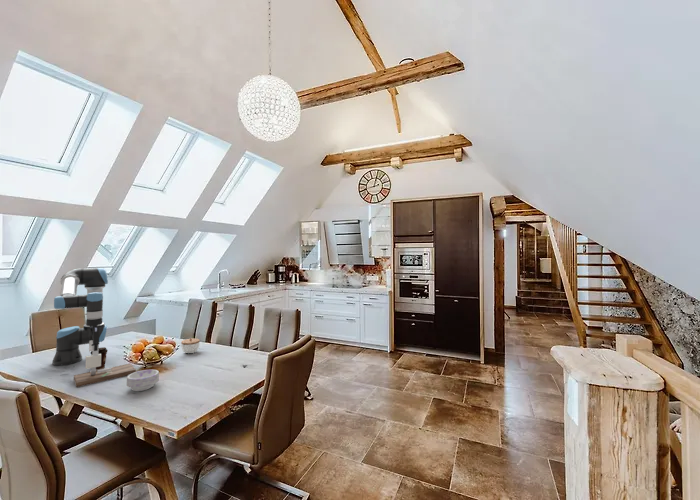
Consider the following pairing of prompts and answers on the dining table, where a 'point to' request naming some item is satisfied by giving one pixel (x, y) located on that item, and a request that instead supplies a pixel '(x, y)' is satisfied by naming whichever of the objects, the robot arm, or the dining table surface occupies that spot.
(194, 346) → the lidded bowl
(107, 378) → the board
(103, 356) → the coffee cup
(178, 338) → the dining table surface
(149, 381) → the white floral bowl
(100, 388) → the dining table surface
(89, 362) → the white piece
